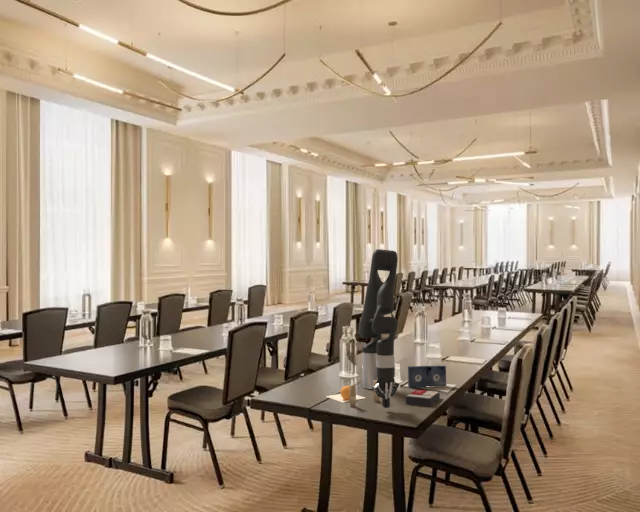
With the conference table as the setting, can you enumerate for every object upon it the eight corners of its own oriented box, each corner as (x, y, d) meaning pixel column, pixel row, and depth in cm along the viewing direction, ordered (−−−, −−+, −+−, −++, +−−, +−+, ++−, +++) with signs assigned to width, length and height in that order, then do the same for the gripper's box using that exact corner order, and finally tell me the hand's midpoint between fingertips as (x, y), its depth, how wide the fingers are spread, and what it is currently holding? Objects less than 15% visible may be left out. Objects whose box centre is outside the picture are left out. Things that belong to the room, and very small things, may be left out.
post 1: (348, 406, 240) (348, 385, 240) (353, 405, 241) (353, 384, 241) (352, 407, 238) (351, 386, 238) (357, 406, 239) (356, 385, 239)
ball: (347, 391, 247) (345, 403, 248) (357, 388, 251) (355, 400, 252) (339, 384, 251) (336, 396, 253) (348, 382, 255) (346, 393, 257)
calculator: (439, 391, 251) (430, 397, 237) (439, 400, 250) (430, 407, 237) (416, 388, 256) (405, 394, 242) (416, 398, 255) (405, 404, 242)
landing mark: (325, 396, 257) (325, 396, 257) (348, 392, 264) (348, 392, 264) (342, 402, 246) (342, 402, 246) (365, 398, 253) (365, 397, 253)
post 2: (372, 401, 247) (372, 380, 247) (377, 400, 249) (376, 380, 249) (376, 402, 245) (376, 382, 245) (380, 401, 247) (380, 381, 247)
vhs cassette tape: (445, 385, 275) (444, 365, 275) (446, 387, 272) (446, 366, 272) (407, 386, 275) (407, 366, 275) (408, 388, 272) (408, 367, 272)
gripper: (391, 362, 238) (392, 403, 238) (367, 365, 231) (367, 408, 231) (403, 364, 232) (404, 406, 232) (379, 368, 225) (379, 412, 225)
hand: (386, 407), depth 232 cm, fingers closed
